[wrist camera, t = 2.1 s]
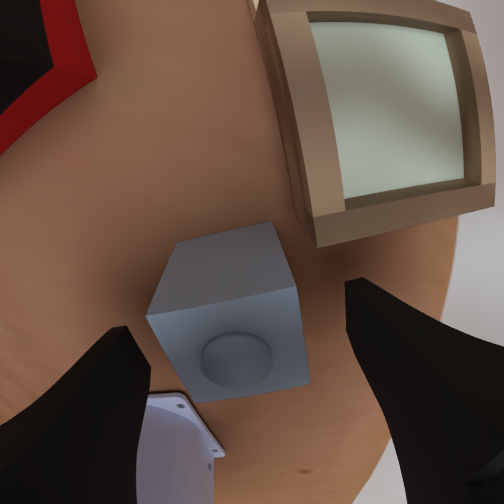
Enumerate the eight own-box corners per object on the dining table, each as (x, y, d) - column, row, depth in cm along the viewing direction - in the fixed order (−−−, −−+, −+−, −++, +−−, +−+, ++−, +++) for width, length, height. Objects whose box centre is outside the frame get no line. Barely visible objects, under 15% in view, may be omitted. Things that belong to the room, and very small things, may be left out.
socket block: (449, 186, 11) (494, 206, 8) (296, 215, 11) (317, 248, 8) (386, -65, 5) (415, -90, 2) (223, -72, 5) (222, -113, 3)
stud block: (287, 300, 13) (312, 392, 8) (204, 317, 13) (194, 412, 8) (271, 220, 11) (299, 294, 7) (176, 242, 12) (141, 325, 7)
